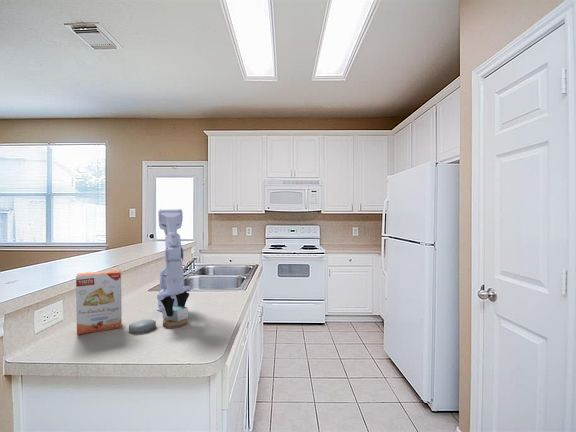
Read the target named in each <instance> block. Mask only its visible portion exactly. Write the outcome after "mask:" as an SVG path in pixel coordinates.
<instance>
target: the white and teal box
mask: <svg viewBox="0 0 576 432" xmlns="http://www.w3.org/2000/svg"><path fill="white" fill-rule="evenodd" d="M173 306H175V307H181V308H183V309H180V310H173V314H172V317H169V316H167V314H166V311H165V308H162V310H163V311H162V320H163V319H167V320H172V321H176V322H178V321H181V320H183V319H186V318H188V319H189V313H188V312H189V311H188V310H189V307H188V306H185V307H183V306H178V305H173Z"/></svg>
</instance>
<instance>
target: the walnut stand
mask: <svg viewBox="0 0 576 432" xmlns="http://www.w3.org/2000/svg"><path fill="white" fill-rule="evenodd" d="M188 323H189V317H188V318H186V319H183V320H181V321H178V322H176V321H172V320H167V319H163V318H162V327H163V328H165V327H166V329H176V327H177V328H182V327H184V326H186V325H187V324H188ZM181 326H182V327H181Z"/></svg>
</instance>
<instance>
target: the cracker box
mask: <svg viewBox="0 0 576 432" xmlns="http://www.w3.org/2000/svg"><path fill="white" fill-rule="evenodd" d="M75 278H76V279H75V281H76V282H75V285H76V286H75V289H76V290H75V293H76V294H75V296H76V299H75V300H76V301H75V303H76V305H75V306H76V310H75V311H76V335H82V334H90V333H93V332H94V333H96V332H101V331H107V330H108V331H109V330H114V329H115V330H116V329H121V328H122V322H123V321H122V320H123V319H122V313H123V312H122V311H123V310H122V306H123V305H122V270H119V269H118V270H103V271H94V272H93V271H91V272H81V273H78V274H77V275H76V276H75Z"/></svg>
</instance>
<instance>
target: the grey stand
mask: <svg viewBox="0 0 576 432" xmlns="http://www.w3.org/2000/svg"><path fill="white" fill-rule="evenodd" d="M156 322H157V321H156V320H154V319H142V320H141V319H140V320H137V321H133V322H131V323H130V324H129V325H128V332H129V333H130V334H145V333H148V332H151V331H154V330H155V329H156V328H157V323H156Z"/></svg>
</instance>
